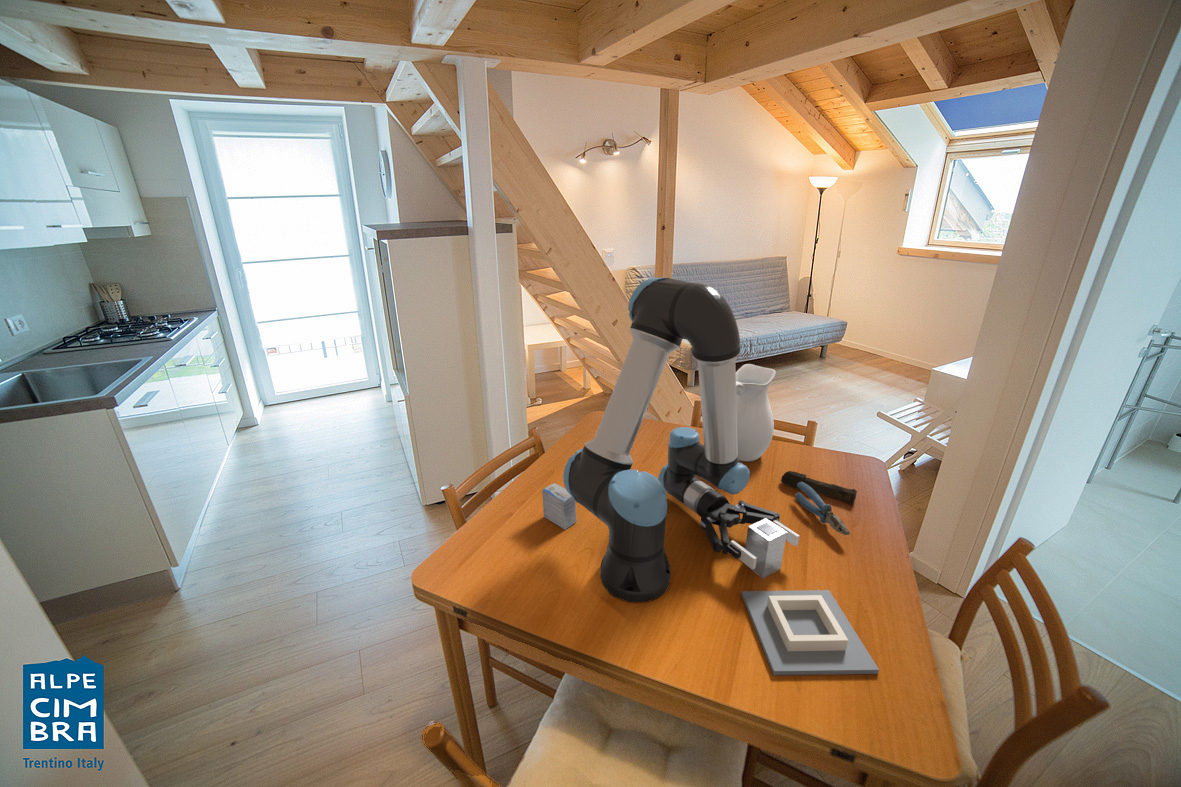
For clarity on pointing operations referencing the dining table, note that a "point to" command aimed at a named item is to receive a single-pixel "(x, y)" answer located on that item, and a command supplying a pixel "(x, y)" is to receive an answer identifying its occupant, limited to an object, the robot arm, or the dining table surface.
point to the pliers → (820, 508)
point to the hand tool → (819, 487)
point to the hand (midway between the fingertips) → (777, 552)
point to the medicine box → (559, 506)
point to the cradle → (806, 633)
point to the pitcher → (753, 411)
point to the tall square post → (766, 546)
